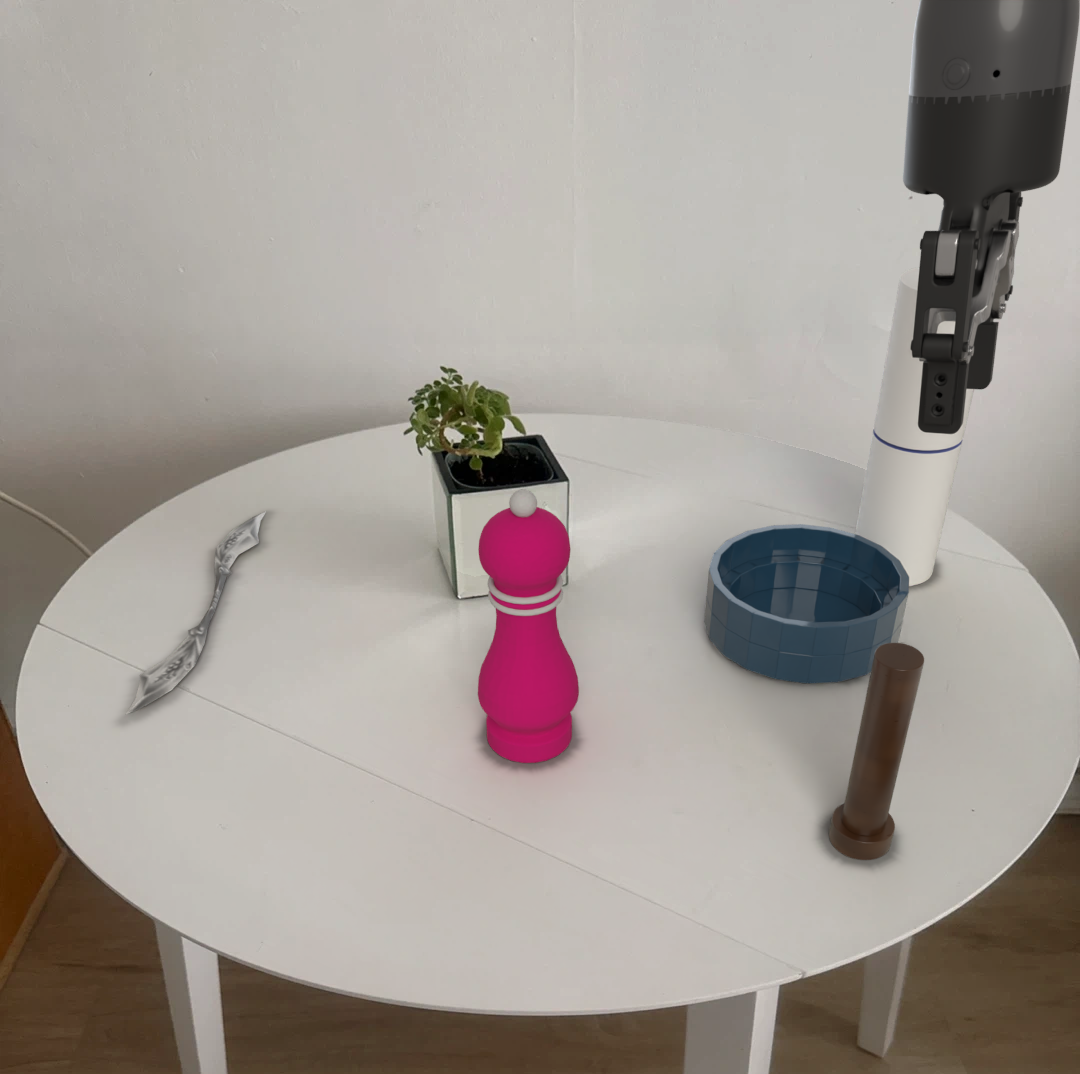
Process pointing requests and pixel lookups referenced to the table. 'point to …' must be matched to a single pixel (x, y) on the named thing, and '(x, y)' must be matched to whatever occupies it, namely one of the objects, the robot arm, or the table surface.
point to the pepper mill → (526, 634)
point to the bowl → (804, 602)
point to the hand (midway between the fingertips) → (955, 408)
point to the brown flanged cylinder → (878, 754)
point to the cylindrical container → (908, 453)
